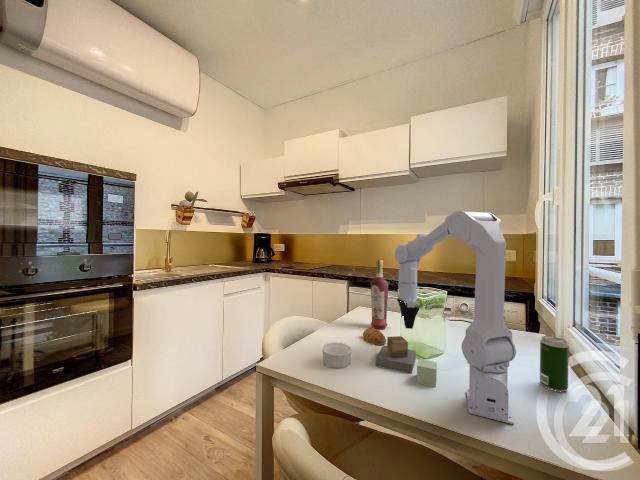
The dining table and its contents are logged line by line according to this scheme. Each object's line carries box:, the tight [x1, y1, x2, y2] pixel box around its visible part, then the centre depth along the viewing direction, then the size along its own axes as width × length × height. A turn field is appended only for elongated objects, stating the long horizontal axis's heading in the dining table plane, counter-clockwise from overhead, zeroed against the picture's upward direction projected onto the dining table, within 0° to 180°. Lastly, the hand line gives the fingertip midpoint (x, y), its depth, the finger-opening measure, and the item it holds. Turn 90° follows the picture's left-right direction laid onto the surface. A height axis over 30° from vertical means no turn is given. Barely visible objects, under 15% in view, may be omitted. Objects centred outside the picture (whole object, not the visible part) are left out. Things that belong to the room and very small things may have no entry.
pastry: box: [362, 327, 387, 346], centre depth 97 cm, size 9×7×4 cm
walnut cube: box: [386, 335, 409, 358], centre depth 80 cm, size 4×4×4 cm
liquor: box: [370, 259, 389, 330], centre depth 112 cm, size 7×7×28 cm
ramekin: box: [321, 342, 353, 369], centre depth 80 cm, size 9×9×4 cm
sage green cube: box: [416, 358, 438, 388], centre depth 70 cm, size 4×4×4 cm
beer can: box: [539, 335, 570, 393], centre depth 68 cm, size 5×5×12 cm
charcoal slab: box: [375, 344, 417, 374], centre depth 80 cm, size 10×10×3 cm
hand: (407, 324), depth 87 cm, fingers open, 7 cm apart
